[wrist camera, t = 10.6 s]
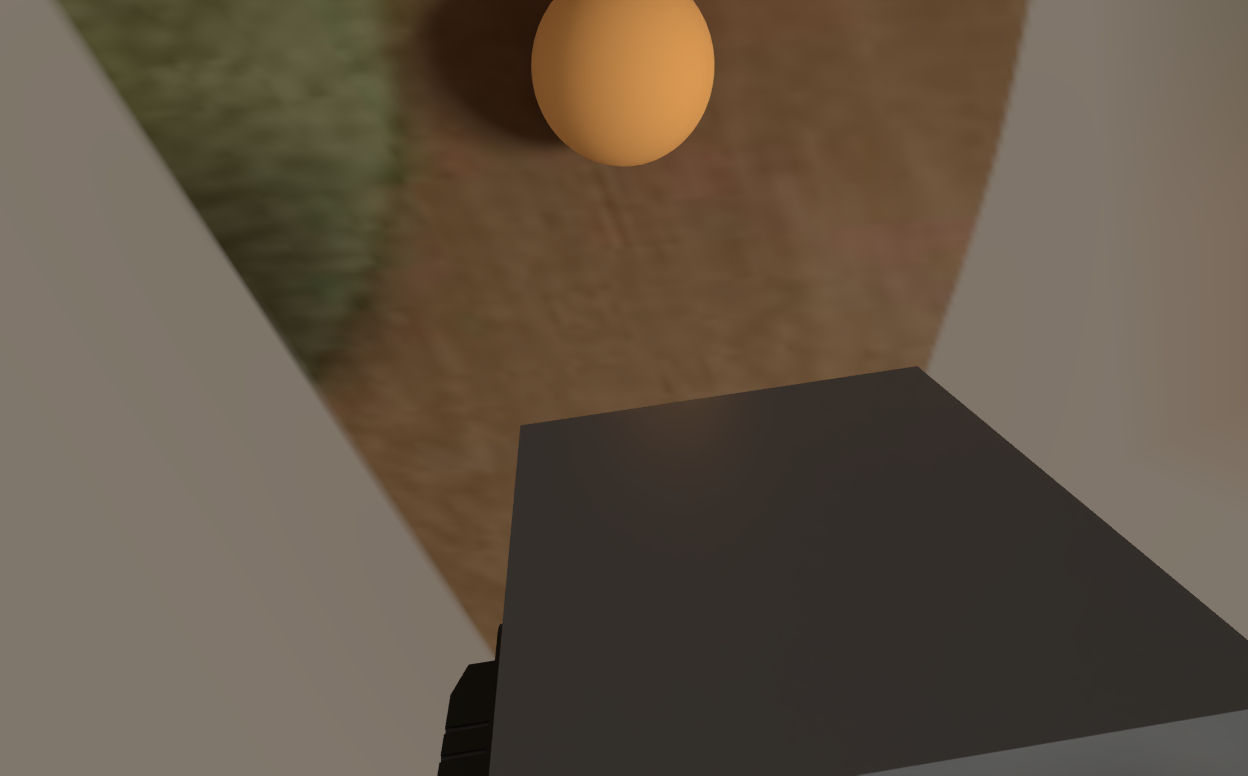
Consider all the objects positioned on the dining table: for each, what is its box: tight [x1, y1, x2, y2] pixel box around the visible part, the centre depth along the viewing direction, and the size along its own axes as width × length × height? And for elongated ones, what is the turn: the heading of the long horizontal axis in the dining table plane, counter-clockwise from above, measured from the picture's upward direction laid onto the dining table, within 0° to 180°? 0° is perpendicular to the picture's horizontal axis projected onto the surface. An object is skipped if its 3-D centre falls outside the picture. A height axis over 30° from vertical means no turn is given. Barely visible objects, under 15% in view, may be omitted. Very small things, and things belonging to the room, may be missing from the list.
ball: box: [531, 0, 714, 166], centre depth 19 cm, size 5×5×5 cm
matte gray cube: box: [489, 366, 1248, 776], centre depth 10 cm, size 7×7×7 cm
